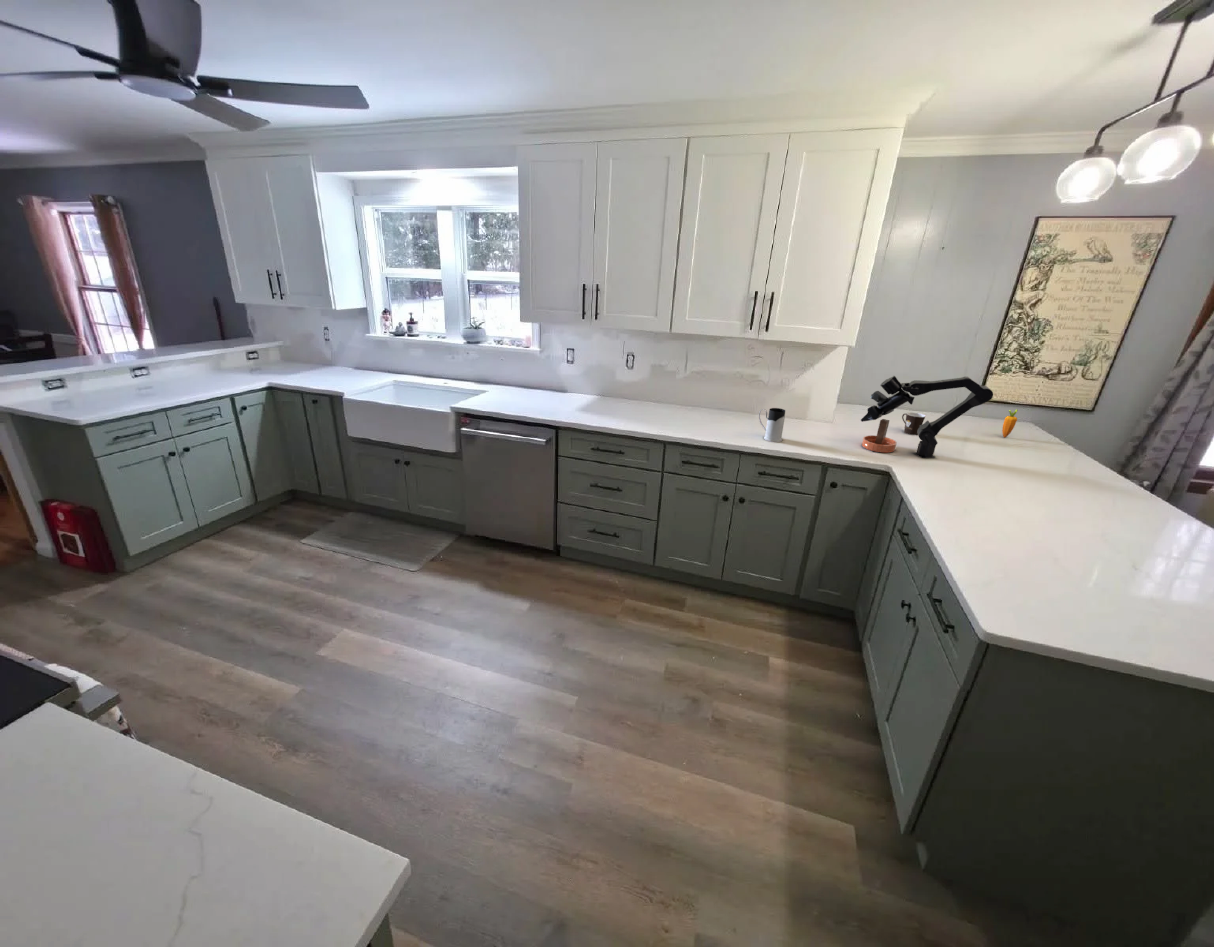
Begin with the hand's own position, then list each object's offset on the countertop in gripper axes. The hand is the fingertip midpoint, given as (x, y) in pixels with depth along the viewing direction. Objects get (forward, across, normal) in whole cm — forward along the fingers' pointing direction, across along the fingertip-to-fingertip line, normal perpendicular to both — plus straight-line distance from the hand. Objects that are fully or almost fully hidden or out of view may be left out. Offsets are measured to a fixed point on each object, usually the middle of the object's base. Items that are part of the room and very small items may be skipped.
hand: (865, 418), depth 238 cm
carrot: (-23, -67, +41) cm, 82 cm away
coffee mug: (+2, -39, +16) cm, 42 cm away
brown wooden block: (+2, 0, +15) cm, 15 cm away
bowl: (+3, 0, +15) cm, 15 cm away
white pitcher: (+33, +27, -15) cm, 45 cm away
